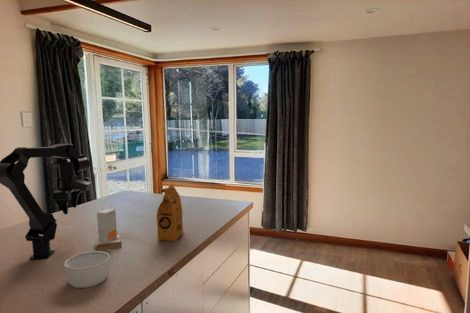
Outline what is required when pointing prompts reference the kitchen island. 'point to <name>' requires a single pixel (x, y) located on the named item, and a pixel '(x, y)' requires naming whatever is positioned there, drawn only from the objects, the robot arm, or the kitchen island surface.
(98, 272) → the ramekin
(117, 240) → the plinth
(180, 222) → the coffee package
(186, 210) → the kitchen island surface
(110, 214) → the skincare box
